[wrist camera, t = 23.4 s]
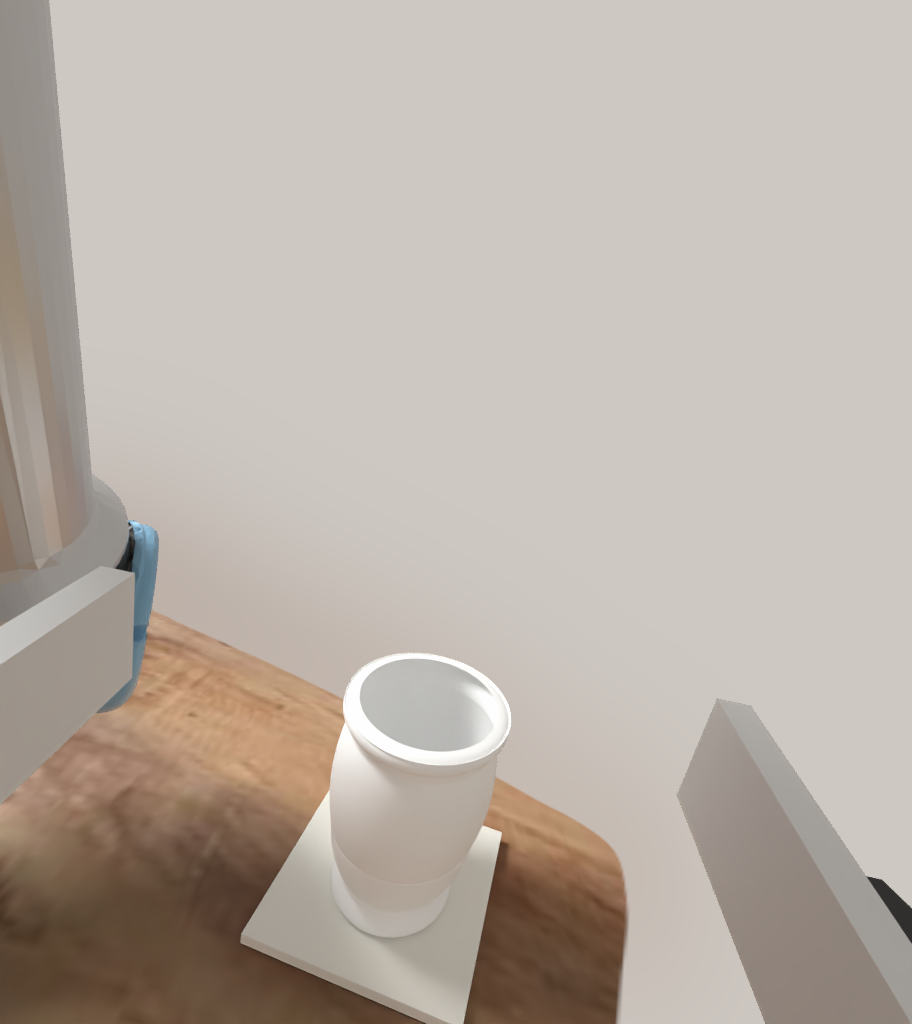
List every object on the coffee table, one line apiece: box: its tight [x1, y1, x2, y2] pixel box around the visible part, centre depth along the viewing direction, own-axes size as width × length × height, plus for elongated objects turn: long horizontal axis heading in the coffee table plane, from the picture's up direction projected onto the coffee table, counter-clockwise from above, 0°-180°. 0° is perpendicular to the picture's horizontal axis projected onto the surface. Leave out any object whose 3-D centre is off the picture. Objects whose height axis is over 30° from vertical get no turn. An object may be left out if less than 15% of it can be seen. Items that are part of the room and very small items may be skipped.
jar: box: [330, 653, 511, 938], centre depth 37 cm, size 11×10×15 cm
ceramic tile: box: [240, 790, 502, 1024], centre depth 40 cm, size 14×14×1 cm
